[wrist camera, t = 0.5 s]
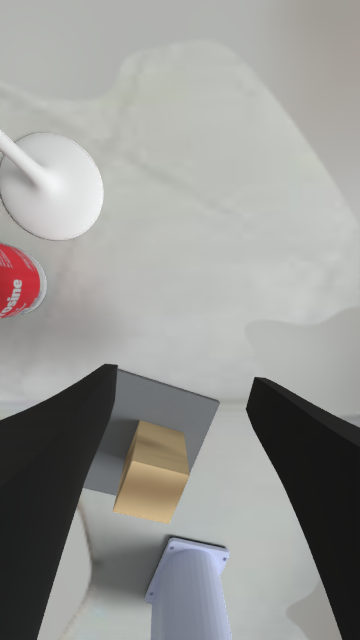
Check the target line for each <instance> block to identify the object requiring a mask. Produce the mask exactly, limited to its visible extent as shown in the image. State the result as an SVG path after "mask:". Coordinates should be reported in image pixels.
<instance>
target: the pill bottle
mask: <svg viewBox="0 0 360 640" xmlns="http://www.w3.org/2000/svg"><path fill="white" fill-rule="evenodd" d="M46 291H47V279H46V275H45V273H44V270H43V268H42V267H41V265H40V264H39V263H38V261H37V260H36V259H35V258H34V257H32V256H31V255H30V254H28V253H27V252H25V251H23V250H20V249H18V248H15V247H12V246H9V245H5V244H2V243H0V318H6V317H12V316H18V315H22V314H26V313H28V312H30V311H32V310H34V309H35V308H36V307H38V306H39V305H40V303H41V302H42V301H43V299H44V297H45V295H46Z"/></svg>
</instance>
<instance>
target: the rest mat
mask: <svg viewBox="0 0 360 640" xmlns="http://www.w3.org/2000/svg"><path fill="white" fill-rule="evenodd" d="M219 404H220V402H219V401H217V400H214V399H211V398H208V397H205V396H202V395H199V394H195V393H192V392H189V391H186V390H183V389H180V388H177V387H173V386H170V385H167V384H164V383H161V382H158V381H155V380H151V379H148V378H145V377H142V376H139V375H136V374H133V373H130V372H126V371H123V370H120V369H117V382H116V395H115V403H114V406H113V410H112V413H111V417H110V420H109V423H108V425H107V428H106V430H105V433H104V435H103V438H102V440H101V442H100V445H99V447H98V450H97V452H96V454H95V457H94V459H93V462H92V464H91V466H90V469H89V471H88V474H87V477H86V480H85V482H84V485H83V488H86V489H90V490H94V491H99V492H103V493H107V494H112V495H116V496H117V491H118V487H119V483H120V478H121V474H122V470H123V465H124V461H125V458H126V456H127V453H128V450H129V448H130V445H131V442H132V440H133V437H134V435H135V432H136V429H137V427H138V424H139V422H140V420H141V421H145V422H148V423H152V424H155V425H159V426H162V427H166V428H169V429H173V430H176V431H179V432H183V433H184V438H185V445H186V453H187V460H188V467H189V474H190V472H191V469H192V467H193V465H194V462H195V460H196V458H197V455H198V453H199V451H200V448H201V446H202V444H203V441H204V439H205V437H206V434H207V432H208V430H209V427H210V425H211V423H212V420H213V418H214V416H215V413H216V411H217V409H218V406H219Z"/></svg>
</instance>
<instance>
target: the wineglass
mask: <svg viewBox="0 0 360 640" xmlns="http://www.w3.org/2000/svg"><path fill="white" fill-rule="evenodd" d="M0 151H1V152H2V153H3V154H4V155H5V156H4V157H3V160H2V162H1V166H0V193H1V197H2V199H3V202H4V204H5V206H6V208H7V210H8V212H9V213H10V215H11V216H12V217H13V219H14V220H15V221H16V222H17V223H18V224H19V225H20V226H21V227H23V228H24V229H25V230H27V231H28V232H30V233H32V234H34V235H36V236H38V237H41V238H44V239H48V240H68V239H72V238H75V237H77V236H79V235H81V234H83V233H84V232H86V231H87V230H88V229H89V228H90V227H91V226H92V225H93V224H94V222H95V221H96V219H97V218H98V216H99V213H100V211H101V208H102V204H103V183H102V179H101V175H100V173H99V170H98V168H97V166H96V164H95V162H94V161H93V159H92V158H91V157H90V155H89V154H88V153H87V152H86V151H85V150H84V149H83V148H82V147H81V146H80V145H78V144H77V143H76V142H74V141H73V140H71V139H69V138H67V137H64V136H62V135H59V134H54V133H46V132H42V133H34V134H30V135H27V136H25V137H23V138H21V139H19V140H18V141H16V142H15V143H14V142H13V141H12V140H11V139H10V138H9V137H8V136H7V135H6V134H5V133H4V132H3V131H2V130H0Z"/></svg>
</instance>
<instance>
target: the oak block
mask: <svg viewBox="0 0 360 640" xmlns="http://www.w3.org/2000/svg"><path fill="white" fill-rule="evenodd" d="M189 476H190V474H189V467H188V460H187V453H186V445H185V438H184V433H183V432H179V431H176V430H173V429H169V428H166V427H162V426H159V425H155V424H152V423H148V422H145V421H141V420H140V422H139V424H138V427H137V429H136V432H135V435H134V437H133V440H132V442H131V445H130V448H129V450H128V453H127V456H126V458H125V461H124V465H123V470H122V474H121V478H120V483H119V487H118V491H117V496H116V500H115V504H114V508H113V512H117V513H121V514H126V515H130V516H135V517H139V518H144V519H148V520H153V521H157V522H162V523H166V524H169V523H170V520H171V518H172V516H173V513H174V511H175V509H176V506H177V504H178V502H179V499H180V497H181V495H182V492H183V490H184V488H185V485H186V483H187V481H188V478H189Z"/></svg>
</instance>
